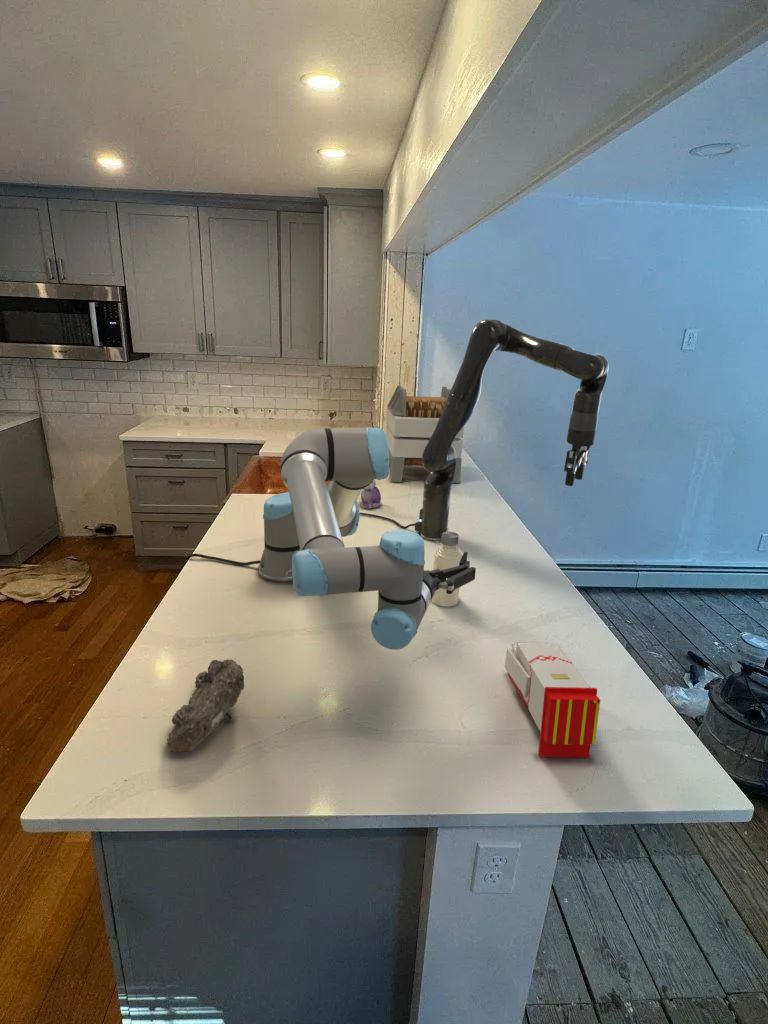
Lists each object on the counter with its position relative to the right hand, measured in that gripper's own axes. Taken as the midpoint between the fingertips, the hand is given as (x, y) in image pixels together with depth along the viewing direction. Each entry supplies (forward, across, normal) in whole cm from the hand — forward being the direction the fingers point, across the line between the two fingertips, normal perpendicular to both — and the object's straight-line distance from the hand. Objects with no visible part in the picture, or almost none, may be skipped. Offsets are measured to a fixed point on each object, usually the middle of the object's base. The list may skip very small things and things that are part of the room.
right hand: (573, 482), depth 165 cm
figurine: (+29, -11, -81) cm, 87 cm away
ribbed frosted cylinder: (+29, +38, -19) cm, 52 cm away
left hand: (+6, +59, -12) cm, 60 cm away
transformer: (+29, -65, -92) cm, 116 cm away
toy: (+29, +65, +19) cm, 74 cm away
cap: (+10, +38, -19) cm, 44 cm away
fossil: (+29, +108, -30) cm, 115 cm away
